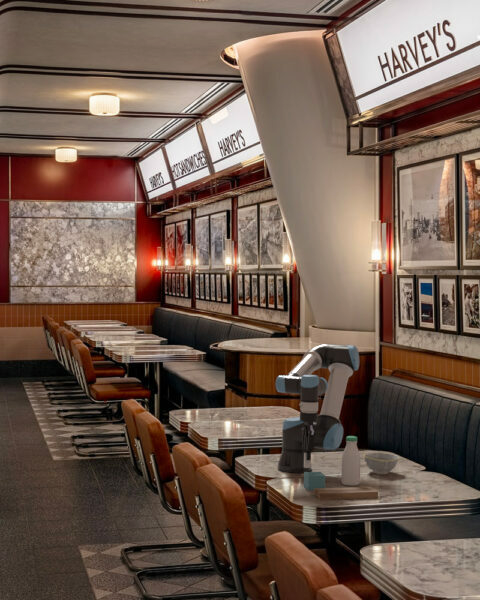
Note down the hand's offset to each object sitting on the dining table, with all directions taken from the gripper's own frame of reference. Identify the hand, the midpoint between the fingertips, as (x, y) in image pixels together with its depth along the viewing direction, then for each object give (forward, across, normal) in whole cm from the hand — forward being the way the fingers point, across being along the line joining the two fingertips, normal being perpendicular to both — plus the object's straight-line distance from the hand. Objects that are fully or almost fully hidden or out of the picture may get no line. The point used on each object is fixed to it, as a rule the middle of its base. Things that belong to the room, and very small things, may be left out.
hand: (307, 467), depth 373 cm
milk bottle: (+7, +5, +18) cm, 20 cm away
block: (+7, +10, 0) cm, 12 cm away
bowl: (+6, -14, +39) cm, 42 cm away
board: (+7, +25, +9) cm, 27 cm away
